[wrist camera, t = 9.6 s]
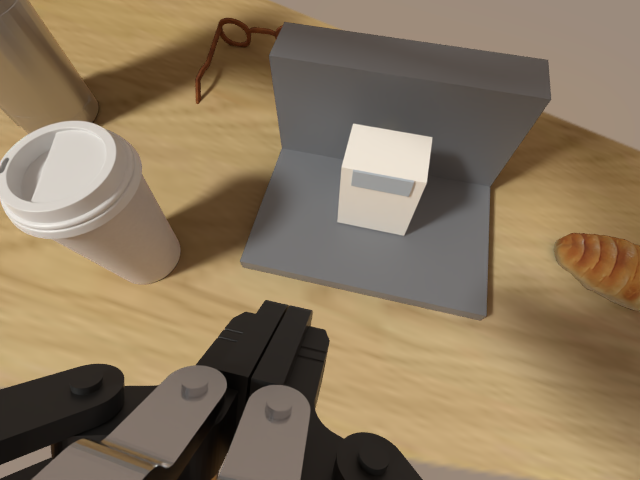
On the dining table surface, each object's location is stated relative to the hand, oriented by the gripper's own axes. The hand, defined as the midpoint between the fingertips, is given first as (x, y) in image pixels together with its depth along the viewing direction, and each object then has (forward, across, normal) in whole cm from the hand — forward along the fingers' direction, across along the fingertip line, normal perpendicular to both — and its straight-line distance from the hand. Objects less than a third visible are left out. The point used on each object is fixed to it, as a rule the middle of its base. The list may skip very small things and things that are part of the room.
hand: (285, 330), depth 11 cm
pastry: (+29, -27, +4) cm, 40 cm away
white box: (+29, -3, +2) cm, 29 cm away
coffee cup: (+23, +20, +10) cm, 32 cm away
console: (+30, -3, +2) cm, 31 cm away
